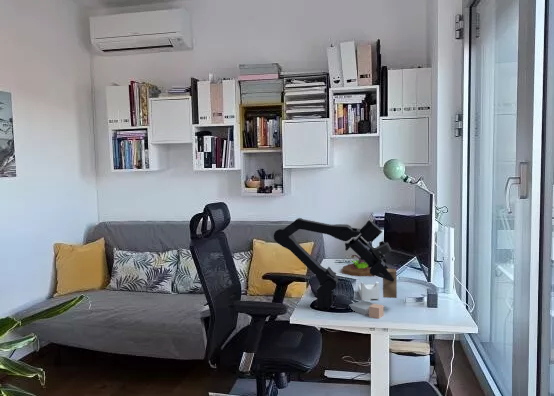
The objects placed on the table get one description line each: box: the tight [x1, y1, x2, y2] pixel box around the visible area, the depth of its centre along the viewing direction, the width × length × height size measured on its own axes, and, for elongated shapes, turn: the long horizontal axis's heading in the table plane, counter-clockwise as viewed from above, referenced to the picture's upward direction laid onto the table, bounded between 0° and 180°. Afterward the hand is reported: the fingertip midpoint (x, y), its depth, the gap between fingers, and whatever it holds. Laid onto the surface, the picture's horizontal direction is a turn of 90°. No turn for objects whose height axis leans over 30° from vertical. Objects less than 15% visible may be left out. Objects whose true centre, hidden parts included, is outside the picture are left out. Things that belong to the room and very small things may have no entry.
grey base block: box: [348, 300, 374, 316], centre depth 183 cm, size 8×8×2 cm
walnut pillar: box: [382, 268, 398, 299], centre depth 181 cm, size 5×5×10 cm
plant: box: [341, 254, 373, 277], centre depth 244 cm, size 20×20×11 cm
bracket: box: [357, 281, 380, 302], centre depth 201 cm, size 13×7×8 cm, turn 177°
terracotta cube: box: [368, 303, 385, 319], centre depth 175 cm, size 4×4×4 cm
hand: (393, 278), depth 181 cm, fingers closed on walnut pillar, 5 cm apart
